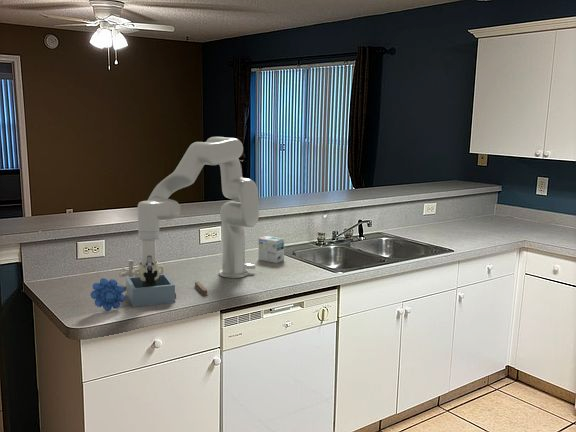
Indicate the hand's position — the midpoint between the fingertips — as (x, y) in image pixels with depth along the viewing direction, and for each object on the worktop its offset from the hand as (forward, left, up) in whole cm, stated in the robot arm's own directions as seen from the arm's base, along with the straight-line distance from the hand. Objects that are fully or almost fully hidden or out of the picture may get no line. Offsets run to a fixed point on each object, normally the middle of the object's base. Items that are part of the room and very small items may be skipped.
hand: (150, 279), depth 215 cm
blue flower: (+16, +9, -7) cm, 20 cm away
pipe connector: (+4, -19, -7) cm, 21 cm away
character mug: (0, 0, -7) cm, 7 cm away
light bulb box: (-63, -35, -8) cm, 72 cm away
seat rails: (-14, -2, -7) cm, 16 cm away
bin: (0, 0, -7) cm, 7 cm away
